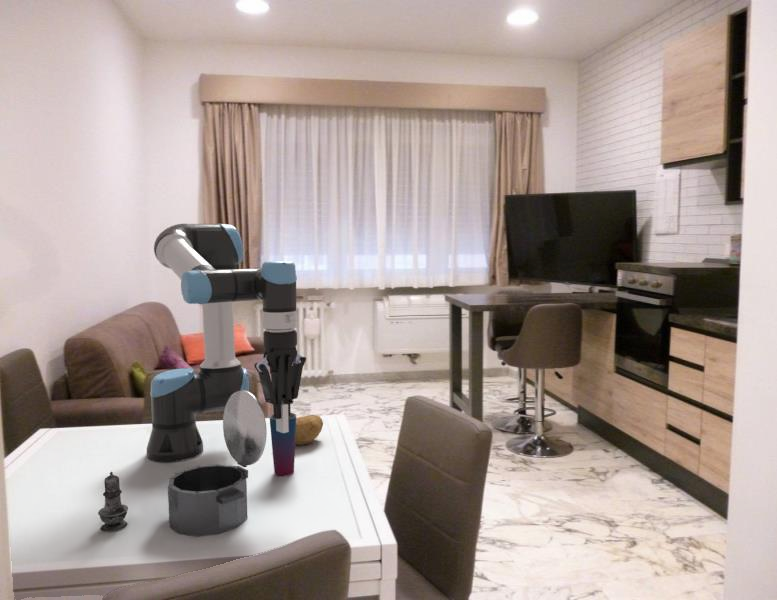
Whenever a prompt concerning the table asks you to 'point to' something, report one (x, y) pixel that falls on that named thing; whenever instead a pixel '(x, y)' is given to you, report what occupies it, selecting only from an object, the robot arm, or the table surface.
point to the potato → (307, 428)
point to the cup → (283, 447)
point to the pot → (207, 499)
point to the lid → (244, 428)
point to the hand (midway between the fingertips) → (282, 431)
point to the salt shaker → (113, 506)
